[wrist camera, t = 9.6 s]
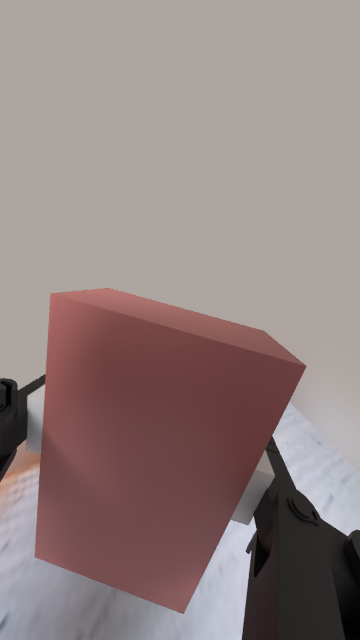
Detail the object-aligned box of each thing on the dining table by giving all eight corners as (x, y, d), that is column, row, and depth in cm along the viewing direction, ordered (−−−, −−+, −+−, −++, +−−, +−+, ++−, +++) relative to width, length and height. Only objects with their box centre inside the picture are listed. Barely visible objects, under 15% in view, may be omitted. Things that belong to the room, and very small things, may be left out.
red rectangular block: (188, 518, 12) (263, 330, 8) (183, 613, 8) (306, 365, 5) (80, 480, 12) (108, 288, 9) (34, 556, 9) (50, 293, 5)
